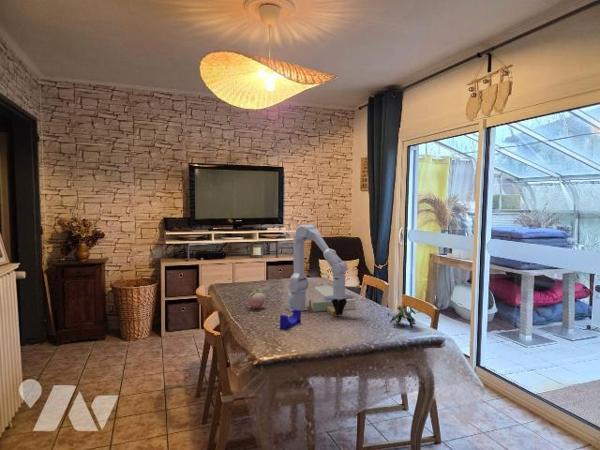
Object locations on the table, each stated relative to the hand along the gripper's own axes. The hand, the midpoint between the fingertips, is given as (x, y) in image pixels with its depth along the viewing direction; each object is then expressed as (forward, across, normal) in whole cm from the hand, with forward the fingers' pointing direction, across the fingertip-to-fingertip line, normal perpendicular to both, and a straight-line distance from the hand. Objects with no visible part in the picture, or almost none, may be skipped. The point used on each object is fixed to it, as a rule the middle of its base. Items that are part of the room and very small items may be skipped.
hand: (338, 314), depth 185 cm
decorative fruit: (+1, -36, +24) cm, 43 cm away
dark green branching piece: (+2, +21, -21) cm, 30 cm away
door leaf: (+1, -3, +12) cm, 13 cm away
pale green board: (+1, +1, +12) cm, 12 cm away
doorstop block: (+1, 0, +6) cm, 6 cm away
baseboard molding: (+2, +13, +48) cm, 50 cm away
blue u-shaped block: (+2, -26, -6) cm, 27 cm away
